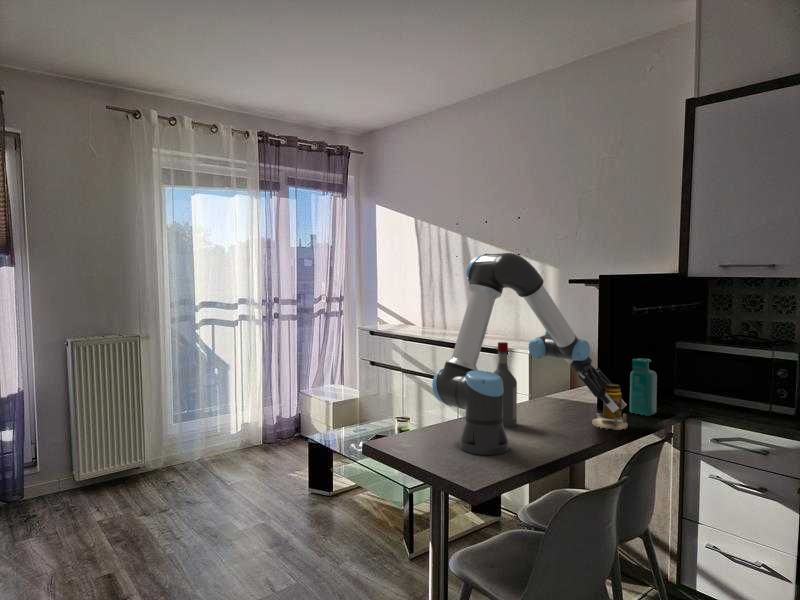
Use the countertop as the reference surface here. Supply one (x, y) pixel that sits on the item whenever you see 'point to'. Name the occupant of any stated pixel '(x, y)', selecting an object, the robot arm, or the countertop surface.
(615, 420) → the flange base
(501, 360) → the liquor
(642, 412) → the teal bottle
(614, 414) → the condiment
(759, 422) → the countertop surface
